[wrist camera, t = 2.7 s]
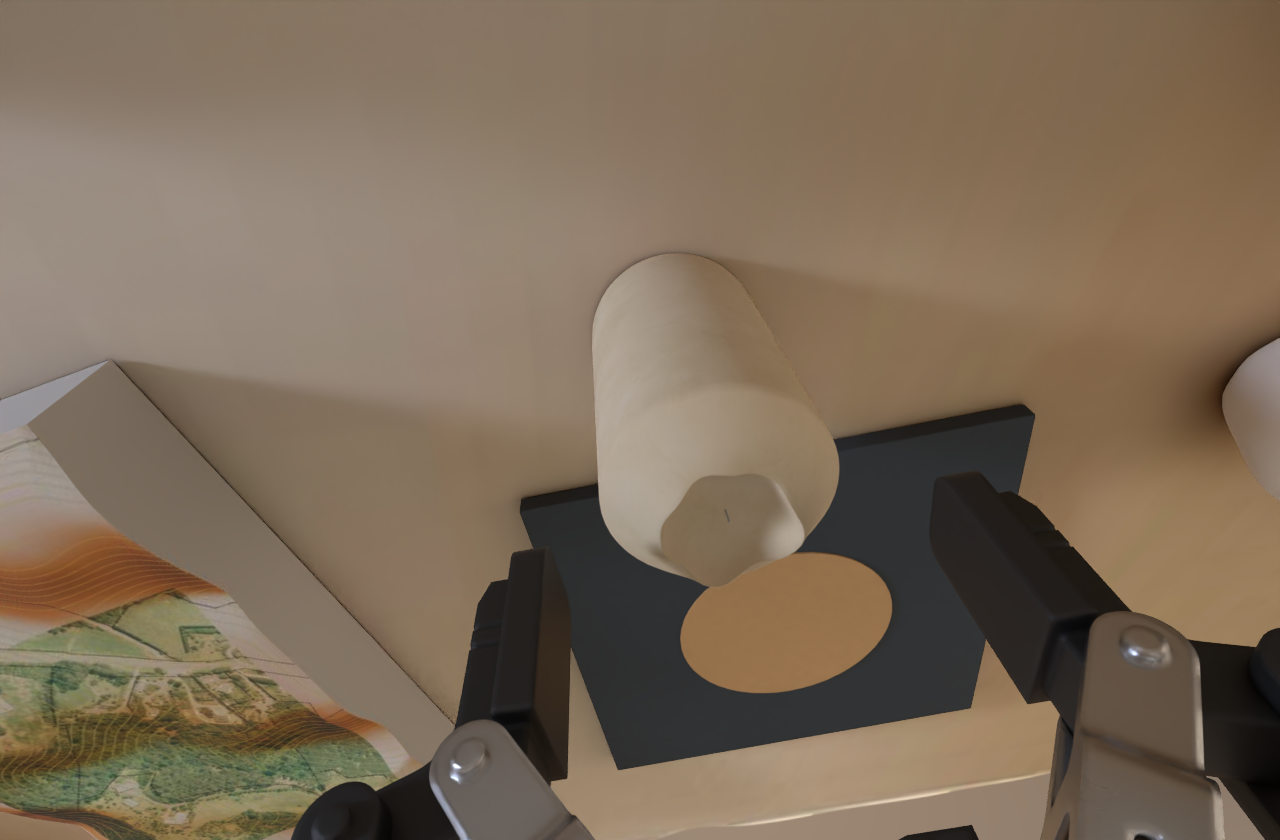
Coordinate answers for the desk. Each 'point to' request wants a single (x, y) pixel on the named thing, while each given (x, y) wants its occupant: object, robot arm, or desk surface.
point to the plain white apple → (1257, 414)
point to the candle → (702, 425)
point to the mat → (786, 608)
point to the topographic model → (171, 638)
